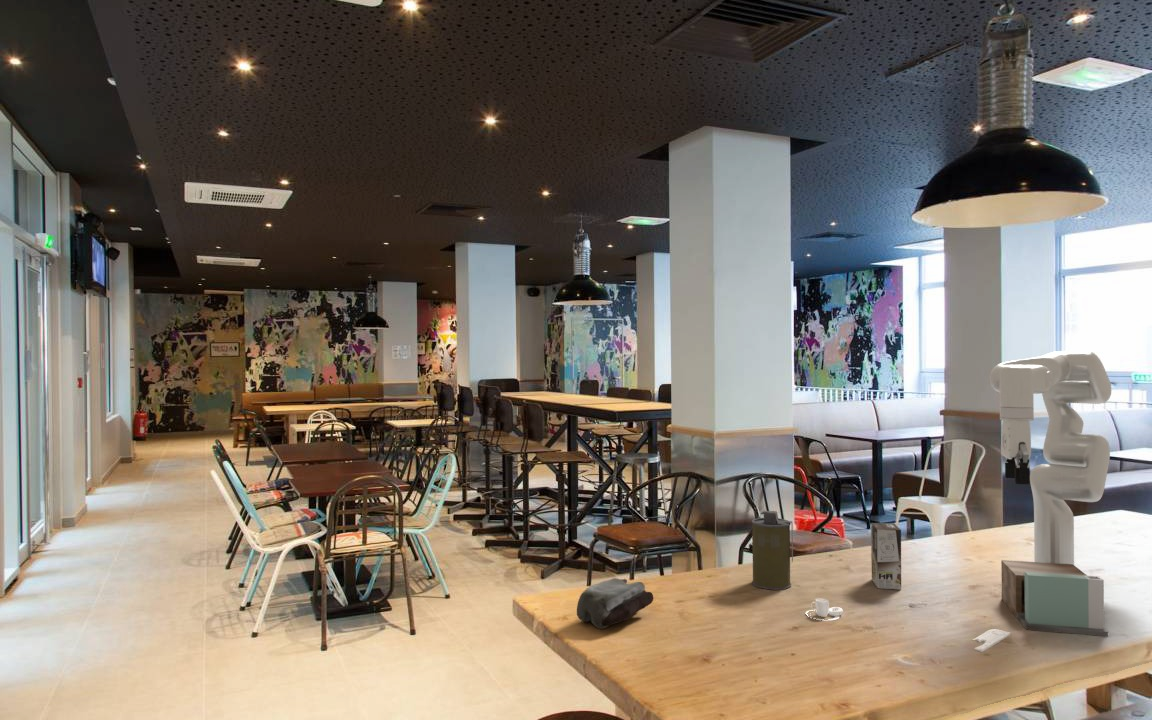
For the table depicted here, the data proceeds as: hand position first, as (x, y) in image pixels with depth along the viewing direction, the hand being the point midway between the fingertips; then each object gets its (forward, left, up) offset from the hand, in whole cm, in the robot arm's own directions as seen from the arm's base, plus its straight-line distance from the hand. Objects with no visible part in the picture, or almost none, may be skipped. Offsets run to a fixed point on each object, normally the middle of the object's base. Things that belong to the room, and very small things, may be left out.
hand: (1017, 480), depth 196 cm
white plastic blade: (+33, -15, -31) cm, 48 cm away
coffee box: (-5, -31, -31) cm, 44 cm away
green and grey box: (+21, +4, -29) cm, 36 cm away
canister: (+3, -61, -31) cm, 68 cm away
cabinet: (+13, +4, -30) cm, 33 cm away
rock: (+42, -96, -31) cm, 109 cm away
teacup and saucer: (+28, -46, -31) cm, 62 cm away
